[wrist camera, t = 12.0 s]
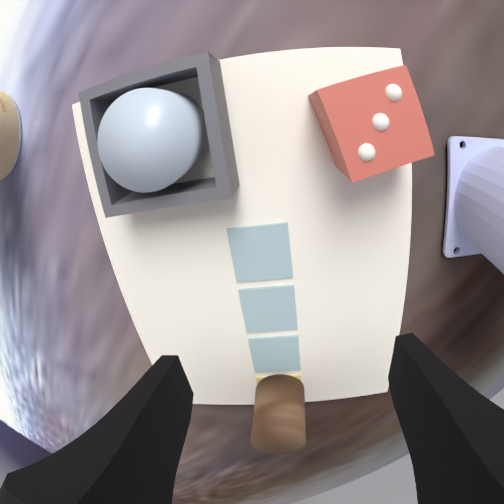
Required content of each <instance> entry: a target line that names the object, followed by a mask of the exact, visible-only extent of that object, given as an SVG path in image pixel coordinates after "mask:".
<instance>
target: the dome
mask: <svg viewBox="0 0 504 504" xmlns="http://www.w3.org/2000/svg"><path fill="white" fill-rule="evenodd" d="M97 143H98V152H99V156H100V159H101V162H102V164H103V166H104V168H105V170H106V171H107V173H108V174H109V176H110V177H111V178H112V179H113V180H114V181H115V182H117V183H118V184H119V185H121V186H122V187H124V188H126V189H129V190H132V191H135V192H143V193H148V192H155V191H159V190H161V189H164V188H166V187H167V186H169V185H171V184H172V183H174V182H175V181H177V180H178V179H179V178H181V177H182V176H184V175H185V174H187V173H188V172H189V171H191V170H192V169H193V168H195V167H196V166H197V165H198V163H199V162H200V161H201V160H202V158H203V156H204V155H205V152H206V150H207V147H208V143H209V141H208V135H207V129H206V123H205V117H204V111H203V109H202V108H201V107H200V105H199V104H198V103H197V102H196V101H195V100H193V99H192V98H191V97H189V96H187V95H185V94H183V93H180V92H175V91H169V90H163V89H156V88H139V89H135V90H132V91H129V92H127V93H125V94H123V95H121V96H120V97H119V98H117V99H116V100H115V101H114V102H113V103H112V104H111V105H110V107H109V108H108V109H107V111H106V112H105V114H104V116H103V118H102V120H101V123H100V126H99V130H98V139H97Z"/></svg>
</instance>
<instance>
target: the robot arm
mask: <svg viewBox="0 0 504 504" xmlns="http://www.w3.org/2000/svg"><path fill="white" fill-rule="evenodd" d="M461 141H462V142H463V146H462V148H460V142H461ZM447 152H448V178H447V205H446V220H445V232H444V242H443V254H444V255H445V256H446V257H447V258H452V257H460V256H467V255H475V254H483V255H484V256H485V257H486V258H487V259H488V260H489V261H490V262H491V263H492V264H493V265H494V266H496V267H497V268H498V269H499V270H500V271H501V272H502V273H503V274H504V139H493V138H480V137H464V136H451V137H450V138H449V139H448V142H447ZM456 247H457V250H456V251H454V249H455V248H456ZM388 381H389V386H390V391H391V395H392V400H393V404H394V407H395V410H396V413H397V416H398V419H399V422H400V425H401V428H402V431H403V434H404V437H405V440H406V443H407V446H408V449H409V452H410V456H411V460H412V464H413V470H414V476H415V482H416V489H417V499H418V504H504V409H502V408H500V407H499V406H497V405H496V404H494V403H493V402H491V401H490V400H489V399H487V398H486V397H484V396H483V395H482V394H480V393H479V392H478V391H476V390H475V389H474V388H473V387H471V386H470V385H469V384H468V383H466V382H465V381H464V380H463V379H462V378H460V377H459V376H458V375H457V374H456V373H455V372H454V371H452V370H451V369H450V368H449V367H448V366H447V365H446V364H445V363H444V362H443V361H442V360H440V359H439V358H438V357H437V356H436V355H435V354H434V353H433V352H432V351H431V350H430V349H429V348H428V347H427V346H426V345H425V344H424V343H423V342H422V341H420V340H419V339H418V338H417V337H416V336H415V335H414V334H413V333H410V334H404V335H399V336H396V337H395V343H394V349H393V354H392V360H391V365H390V370H389V374H388ZM193 396H194V393H193V391H192V388H191V386H190V384H189V381H188V379H187V376H186V374H185V372H184V369H183V367H182V364H181V362H180V359H179V356H178V355H161V357H160V358H159V359H158V360H157V361H156V362H155V363H154V364H153V365H152V366H151V368H150V369H149V370H148V371H147V372H146V373H145V374H144V375H143V377H142V378H141V379H140V380H139V381H138V382H137V383H136V384H135V385H134V386H133V387H132V389H131V390H130V391H129V392H128V393H127V394H126V395H125V396H124V397H123V398H122V399H121V400H120V401H119V402H118V403H117V404H116V405H115V406H114V407H113V408H112V409H111V410H110V411H109V412H108V413H107V414H106V415H105V416H104V417H103V418H102V419H100V420H99V421H98V422H97V423H96V424H95V425H93V426H92V427H91V428H90V429H88V430H87V431H86V432H85V433H83V434H82V435H81V436H79V437H78V438H77V439H75V440H74V441H72V442H71V443H69V444H68V445H66V446H65V447H63V448H61V449H60V450H58V451H57V452H55V453H53V454H51V455H50V456H48V457H46V458H44V459H42V460H40V461H38V462H36V463H34V464H32V465H29V466H27V467H24V468H21V469H19V470H16V471H14V472H11V473H8V474H7V476H6V478H5V480H4V482H3V484H2V487H1V488H0V504H172V496H173V488H174V481H175V476H176V471H177V467H178V464H179V460H180V456H181V452H182V449H183V445H184V442H185V438H186V434H187V430H188V427H189V423H190V419H191V412H192V404H193Z"/></svg>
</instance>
